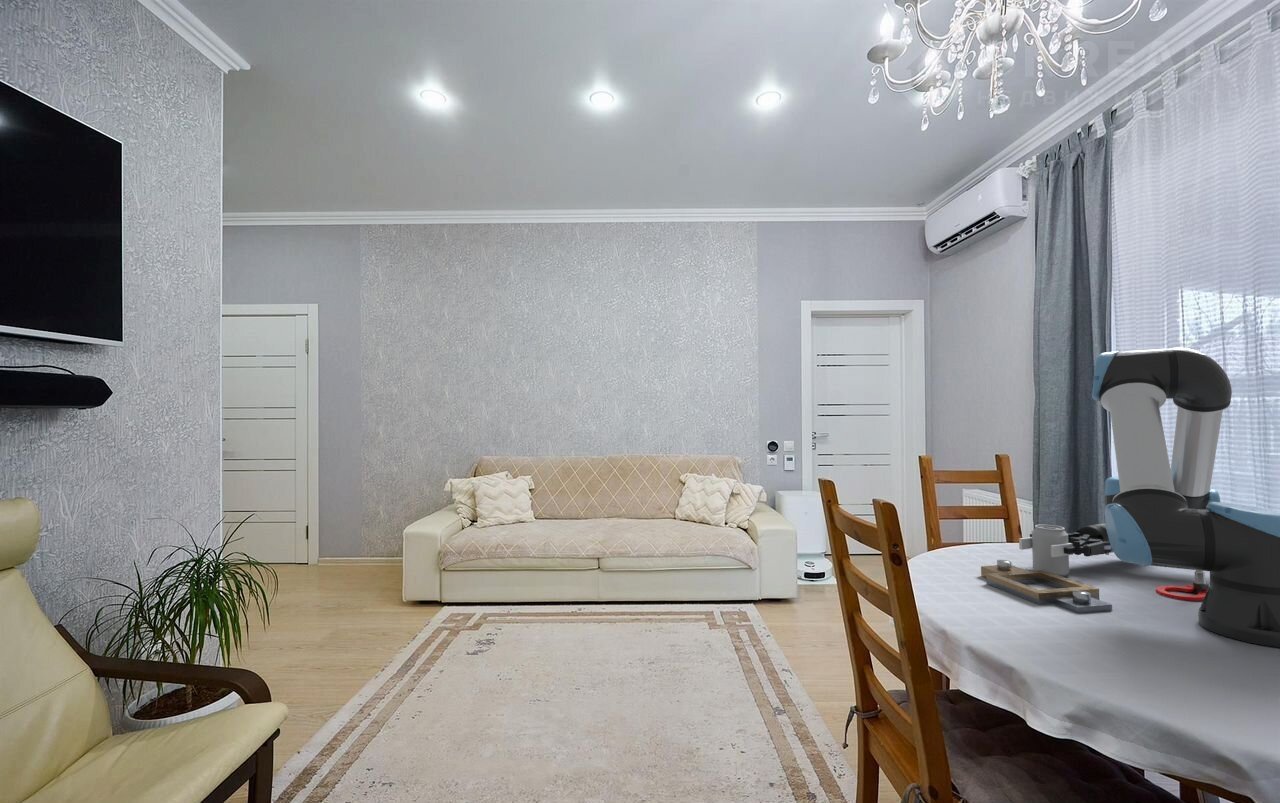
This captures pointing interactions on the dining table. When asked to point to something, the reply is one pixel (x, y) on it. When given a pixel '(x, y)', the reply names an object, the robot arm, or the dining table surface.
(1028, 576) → the chain end upper
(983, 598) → the dining table surface
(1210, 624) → the robot arm
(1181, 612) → the dining table surface
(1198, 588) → the tow hook
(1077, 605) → the chain end lower
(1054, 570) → the can
